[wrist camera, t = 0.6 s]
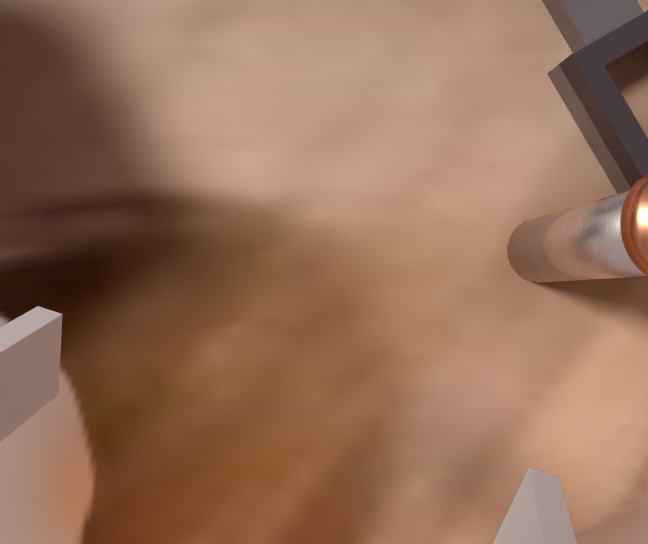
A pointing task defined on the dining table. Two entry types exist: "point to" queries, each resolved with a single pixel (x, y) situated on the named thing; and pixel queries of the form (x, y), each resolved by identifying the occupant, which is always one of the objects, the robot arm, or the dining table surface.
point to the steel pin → (586, 240)
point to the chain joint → (602, 81)
